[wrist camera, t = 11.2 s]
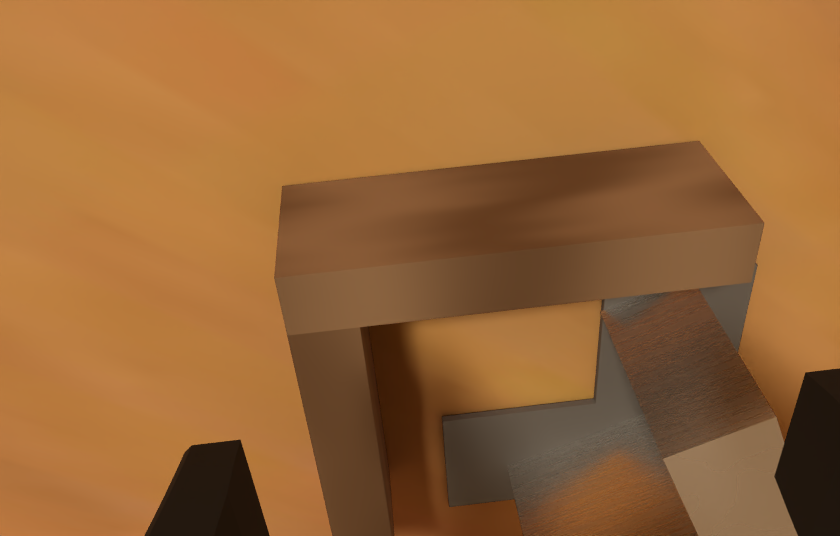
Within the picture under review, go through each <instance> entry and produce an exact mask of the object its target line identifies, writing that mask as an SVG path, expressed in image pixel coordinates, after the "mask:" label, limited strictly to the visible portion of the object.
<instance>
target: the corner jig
mask: <svg viewBox="0 0 840 536" xmlns="http://www.w3.org/2000/svg"><path fill="white" fill-rule="evenodd" d="M763 228H764V222H763V220H762V219H761V218H760V217H759V215H758V214H757V213H756V212H755V210H754V209H753V208H752V207H751V205H750V204H749V203H748V202H747V200H746V199H745V198H744V197H743V195H742V194H741V193H740V192H739V190H738V189H737V188H736V187H735V185H734V184H733V183H732V182H731V180H730V179H729V178H728V177H727V175H726V174H725V173H724V172H723V170H722V169H721V168H720V167H719V165H718V164H717V163H716V161H715V160H714V159H713V158H712V156H711V155H710V154H709V153H708V151H707V150H706V149H705V148H704V146H703V145H702V144H701V143H700V141H694V142H685V143H676V144H667V145H658V146H648V147H639V148H630V149H621V150H611V151H602V152H593V153H584V154H575V155H565V156H556V157H547V158H538V159H528V160H519V161H510V162H501V163H492V164H482V165H473V166H464V167H455V168H445V169H436V170H427V171H418V172H409V173H399V174H390V175H381V176H372V177H362V178H353V179H344V180H335V181H326V182H316V183H307V184H298V185H289V186H282V195H281V206H280V218H279V230H278V241H277V253H276V265H275V276H274V279H275V283H276V288H277V292H278V296H279V301H280V305H281V310H282V314H283V319H284V323H285V327H286V332H287V336H288V341H289V345H290V350H291V354H292V359H293V363H294V367H295V372H296V376H297V381H298V385H299V390H300V394H301V398H302V403H303V407H304V412H305V416H306V421H307V425H308V429H309V434H310V438H311V443H312V447H313V452H314V456H315V461H316V465H317V469H318V474H319V478H320V483H321V487H322V492H323V496H324V500H325V505H326V509H327V514H328V518H329V523H330V527H331V531H332V536H394V524H393V511H392V498H391V486H390V473H389V466H388V459H387V452H386V445H385V438H384V431H383V424H382V417H381V410H380V403H379V397H378V390H377V383H376V376H375V369H374V362H373V355H372V348H371V341H370V334H369V327H368V326H375V325H384V324H393V323H401V322H410V321H419V320H428V319H436V318H445V317H454V316H462V315H471V314H480V313H489V312H497V311H506V310H515V309H524V308H532V307H541V306H550V305H558V304H567V303H576V302H585V301H593V300H602V299H611V298H620V297H628V296H637V295H646V294H654V293H663V292H672V291H681V290H689V289H698V288H707V287H716V286H724V285H733V284H742V283H750V282H751V281H752V277H753V272H754V268H755V263H756V259H757V254H758V250H759V245H760V241H761V236H762V232H763Z"/></svg>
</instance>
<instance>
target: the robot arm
mask: <svg viewBox="0 0 840 536" xmlns="http://www.w3.org/2000/svg"><path fill="white" fill-rule="evenodd" d="M774 477H775V479H776V482H777V485H778V487H779V490H780V492H781V495H782V498H783V500H784V503H785V505H786V508H787V510H788V513H789V516H790V518H791V520H792V523H793V525H794V528H795V530H796V532H797V535H798V536H840V369H832V370H823V371H815V372H807V373H805V376H804V380H803V383H802V386H801V390H800V393H799V396H798V400H797V403H796V406H795V409H794V413H793V416H792V419H791V423H790V426H789V429H788V433H787V436H786V439H785V443H784V446H783V449H782V453H781V456H780V459H779V462H778V466H777V469H776V472H775V476H774ZM145 536H269V532H268V529H267V526H266V522H265V519H264V516H263V513H262V509H261V506H260V503H259V499H258V496H257V493H256V490H255V486H254V483H253V480H252V476H251V473H250V470H249V467H248V463H247V460H246V457H245V453H244V450H243V447H242V443H241V440H234V441H225V442H217V443H208V444H200V445H192V446H191V447H190V448H189V449H188V450H187V451H186V452H185V453H184V455H183V457H182V460H181V462H180V464H179V466H178V468H177V471H176V473H175V475H174V477H173V479H172V481H171V483H170V485H169V488H168V490H167V492H166V494H165V496H164V498H163V500H162V502H161V504H160V506H159V508H158V510H157V512H156V514H155V516H154V518H153V520H152V522H151V524H150V526H149V528H148V530H147V532H146V534H145Z"/></svg>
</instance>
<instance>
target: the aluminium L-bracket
mask: <svg viewBox="0 0 840 536" xmlns="http://www.w3.org/2000/svg"><path fill="white" fill-rule="evenodd" d="M600 313H601V315H602V318H603V320H604V322H605V325H606V327H607V329H608V332H609V334H610V336H611V339H612V341H613V343H614V346H615V348H616V350H617V353H618V355H619V357H620V360H621V362H622V364H623V367H624V369H625V371H626V374H627V376H628V378H629V381H630V383H631V385H632V388H633V390H634V392H635V395H636V397H637V399H638V402H639V404H640V406H641V409H642V411H643V413H644V414H642V415H639V416H637V417H634V418H631V419H629V420H626V421H624V422H621V423H618V424H616V425H613V426H611V427H608V428H605V429H603V430H600V431H598V432H595V433H592V434H590V435H587V436H584V437H582V438H579V439H577V440H574V441H571V442H569V443H566V444H564V445H561V446H558V447H556V448H553V449H551V450H548V451H545V452H543V453H540V454H537V455H535V456H532V457H530V458H527V459H524V460H522V461H519V462H517V463H514V464H511V465H509V466H507V467H508V472H509V476H510V480H511V485H512V489H513V493H514V498H515V502H516V507H517V511H518V515H519V520H520V524H521V528H522V533H523V536H798V535H797V532H796V530H795V528H794V525H793V523H792V520H791V518H790V516H789V513H788V510H787V508H786V505H785V503H784V500H783V498H782V495H781V492H780V490H779V487H778V485H777V482H776V479H775V477H774V476H775V472H776V469H777V466H778V462H779V459H780V456H781V453H782V449H783V446H784V440H783V437H782V434H781V430H780V427H779V424H778V420H777V417H776V415H775V414H774V412H773V410H772V409H771V407H770V405H769V404H768V402H767V400H766V399H765V397H764V395H763V394H762V392H761V390H760V389H759V387H758V385H757V384H756V382H755V381H754V379H753V377H752V376H751V374H750V372H749V371H748V369H747V367H746V366H745V364H744V362H743V361H742V359H741V357H740V356H739V354H738V352H737V351H736V349H735V347H734V346H733V344H732V343H731V341H730V339H729V338H728V336H727V334H726V333H725V331H724V329H723V328H722V326H721V324H720V323H719V321H718V319H717V318H716V316H715V314H714V313H713V311H712V310H711V308H710V306H709V305H708V303H707V301H706V300H705V298H704V296H703V295H702V293H701V291H700V290H699V288H698V289H689V290H681V291H672V292H663V293H654V294H646V295H639V296H637V297H635V298H632V299H630V300H627V301H625V302H622V303H620V304H618V305H615V306H613V307H610V308H608V309H606V310H603V311H601V312H600Z"/></svg>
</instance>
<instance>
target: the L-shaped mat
mask: <svg viewBox="0 0 840 536" xmlns="http://www.w3.org/2000/svg"><path fill="white" fill-rule="evenodd" d="M756 270H757V264H756V263H755V268H754V272H753V277H752V281H751V282H750V283H742V284H733V285H724V286H716V287H707V288H699V290H700V291H701V293H702V295H703V296H704V298H705V300H706V301H707V303H708V305H709V306H710V308H711V310H712V311H713V313H714V314H715V316H716V318H717V319H718V321H719V323H720V324H721V326H722V328H723V329H724V331H725V333H726V334H727V336H728V338H729V339H730V341H731V343H732V344H733V346H734V347H735V349H736V351H737V352H738V349H739V345H740V340H741V336H742V331H743V327H744V322H745V318H746V314H747V309H748V305H749V300H750V296H751V292H752V287H753V283H754V278H755V274H756ZM637 296H639V295H637ZM637 296H628V297H620V298H611V299H602V307H601V311H603V310H606V309H608V308H610V307H613V306H615V305H618V304H620V303H622V302H625V301H627V300H630V299H632V298H635V297H637ZM642 414H644V413H643V411H642V409H641V406H640V404H639V402H638V399H637V397H636V395H635V392H634V390H633V388H632V385H631V383H630V381H629V378H628V376H627V374H626V371H625V369H624V367H623V364H622V362H621V360H620V357H619V355H618V353H617V350H616V348H615V346H614V343H613V341H612V339H611V336H610V334H609V332H608V329H607V327H606V325H605V322H604V320H603V318H602V315H601V319H600V330H599V342H598V354H597V366H596V378H595V389H594V399H586V400H577V401H569V402H560V403H552V404H544V405H535V406H527V407H518V408H510V409H501V410H493V411H485V412H476V413H468V414H459V415H451V416H442V424H443V437H444V450H445V462H446V475H447V488H448V501H449V507H454V506H462V505H470V504H479V503H487V502H495V501H503V500H511V499H515V498H514V493H513V489H512V485H511V480H510V476H509V472H508V467H507V466H509V465H511V464H514V463H517V462H519V461H522V460H524V459H527V458H530V457H532V456H535V455H537V454H540V453H543V452H545V451H548V450H551V449H553V448H556V447H558V446H561V445H564V444H566V443H569V442H571V441H574V440H577V439H579V438H582V437H584V436H587V435H590V434H592V433H595V432H598V431H600V430H603V429H605V428H608V427H611V426H613V425H616V424H618V423H621V422H624V421H626V420H629V419H631V418H634V417H637V416H639V415H642Z"/></svg>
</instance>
